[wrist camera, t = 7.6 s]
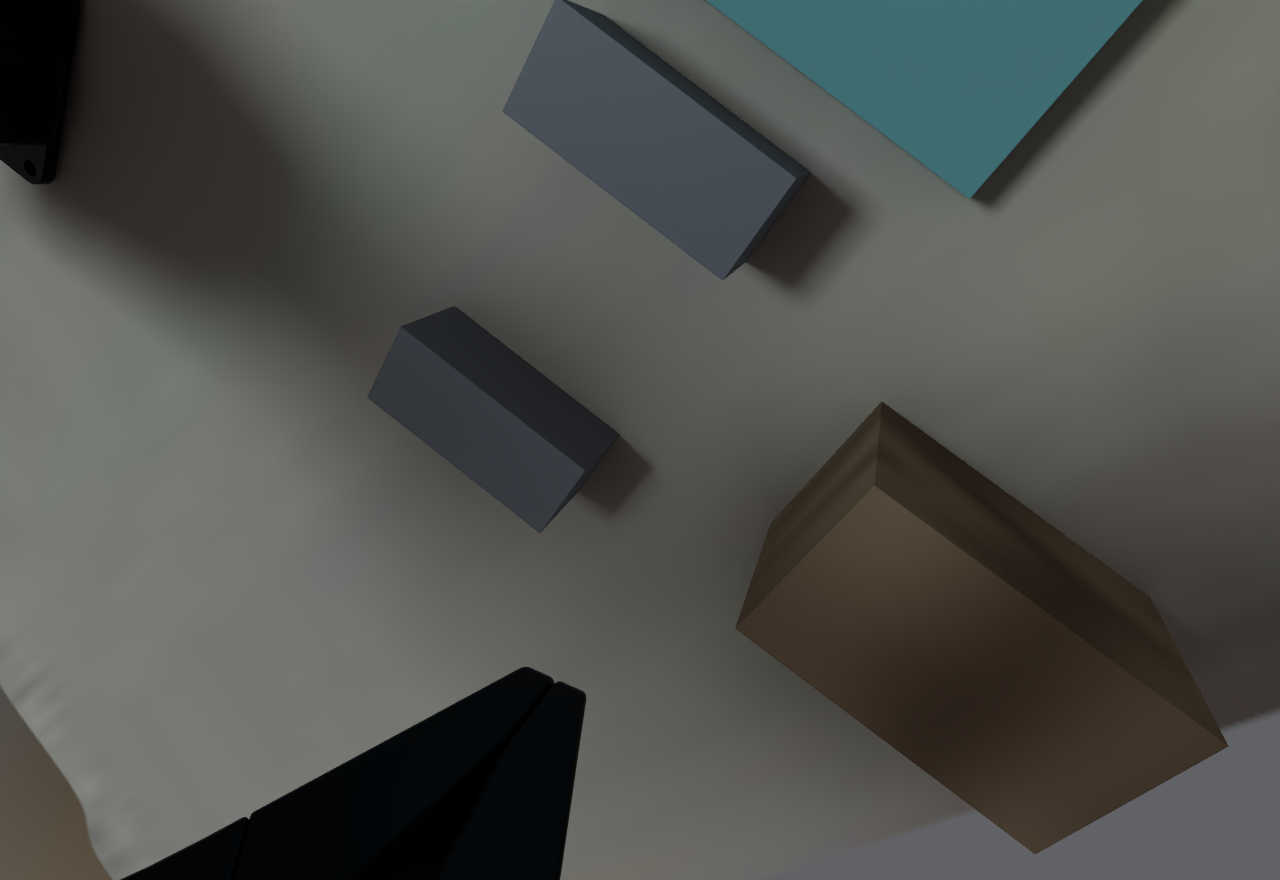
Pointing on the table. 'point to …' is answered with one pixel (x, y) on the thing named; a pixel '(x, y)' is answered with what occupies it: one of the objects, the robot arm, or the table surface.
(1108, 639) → the walnut block
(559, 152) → the grey blocks
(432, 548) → the table surface
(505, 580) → the table surface
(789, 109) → the table surface
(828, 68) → the pad
